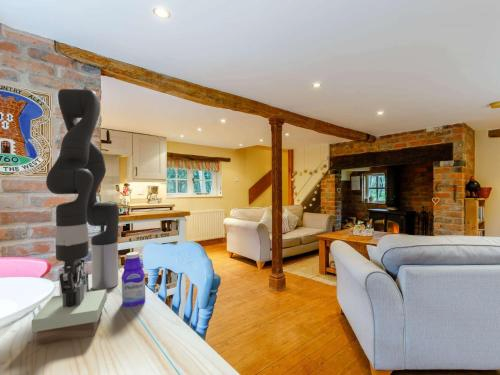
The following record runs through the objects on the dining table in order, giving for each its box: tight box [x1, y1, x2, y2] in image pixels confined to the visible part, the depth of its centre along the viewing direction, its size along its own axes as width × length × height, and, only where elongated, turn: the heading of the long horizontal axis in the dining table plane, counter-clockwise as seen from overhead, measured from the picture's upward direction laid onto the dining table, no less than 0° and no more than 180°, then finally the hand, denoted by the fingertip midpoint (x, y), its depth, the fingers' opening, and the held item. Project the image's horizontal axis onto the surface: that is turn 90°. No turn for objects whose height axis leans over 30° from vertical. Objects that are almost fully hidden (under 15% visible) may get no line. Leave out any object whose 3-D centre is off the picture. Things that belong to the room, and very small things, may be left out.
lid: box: [31, 281, 108, 333], centre depth 72 cm, size 14×14×8 cm
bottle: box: [120, 251, 146, 308], centre depth 87 cm, size 7×6×17 cm
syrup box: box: [58, 262, 90, 296], centre depth 85 cm, size 6×6×14 cm
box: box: [37, 311, 103, 346], centre depth 72 cm, size 12×12×6 cm
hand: (73, 301), depth 72 cm, fingers closed on lid, 4 cm apart
